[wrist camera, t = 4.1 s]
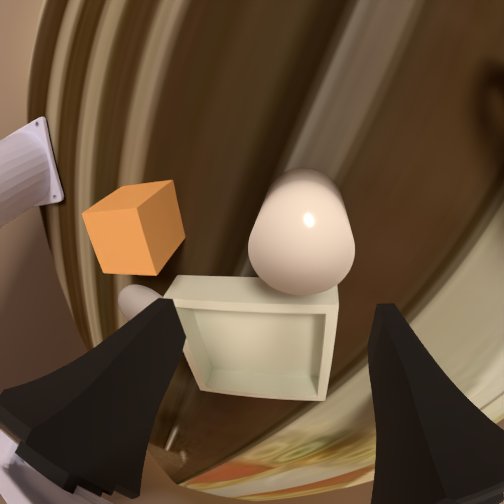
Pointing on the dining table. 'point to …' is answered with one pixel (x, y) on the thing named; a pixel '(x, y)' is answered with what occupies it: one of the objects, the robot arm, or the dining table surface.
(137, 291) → the grey flat disc
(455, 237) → the dining table surface
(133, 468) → the robot arm
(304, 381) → the tray
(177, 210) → the block
